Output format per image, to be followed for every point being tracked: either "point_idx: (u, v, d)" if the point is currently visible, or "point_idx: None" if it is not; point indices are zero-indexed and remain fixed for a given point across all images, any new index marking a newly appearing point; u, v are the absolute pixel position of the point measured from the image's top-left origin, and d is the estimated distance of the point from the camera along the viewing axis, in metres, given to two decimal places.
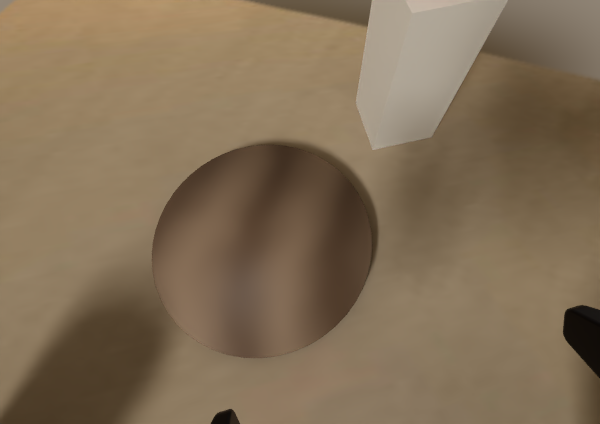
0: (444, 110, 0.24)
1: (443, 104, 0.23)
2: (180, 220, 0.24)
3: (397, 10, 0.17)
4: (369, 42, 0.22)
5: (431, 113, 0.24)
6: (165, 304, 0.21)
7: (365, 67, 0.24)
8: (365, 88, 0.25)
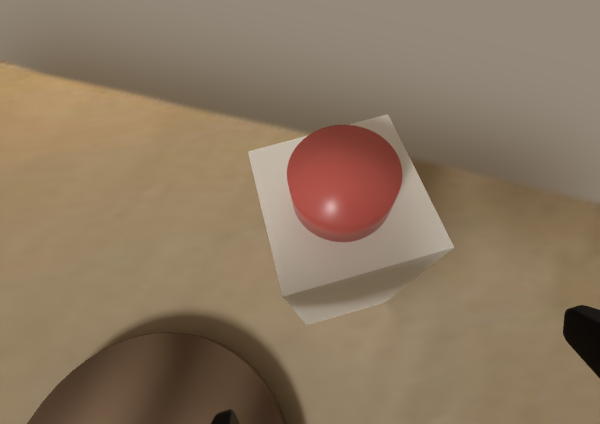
0: (392, 295, 0.17)
1: (388, 294, 0.16)
2: None
3: None
4: None
5: (374, 300, 0.17)
6: None
7: None
8: None
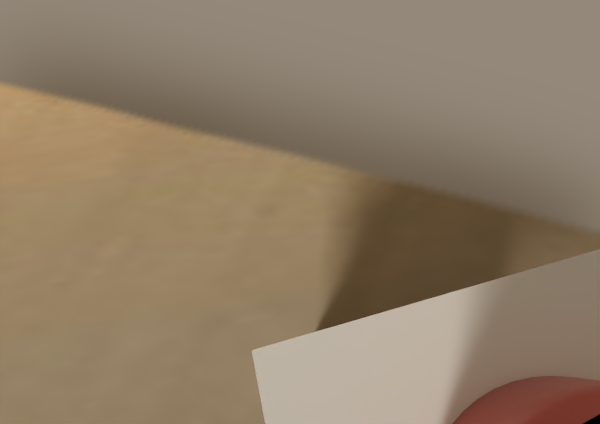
0: None
1: None
2: None
3: None
4: None
5: None
6: None
7: None
8: None
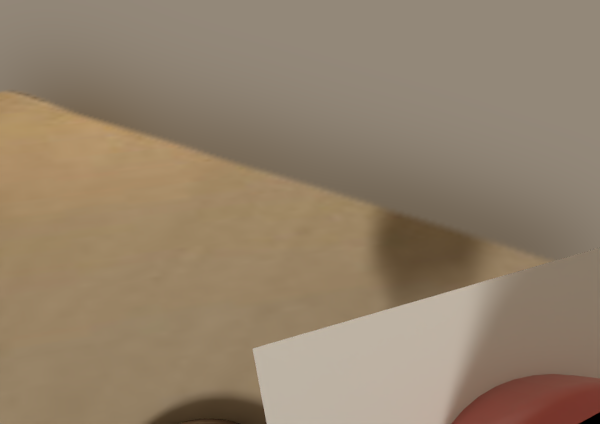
0: None
1: None
2: None
3: None
4: None
5: None
6: None
7: None
8: None
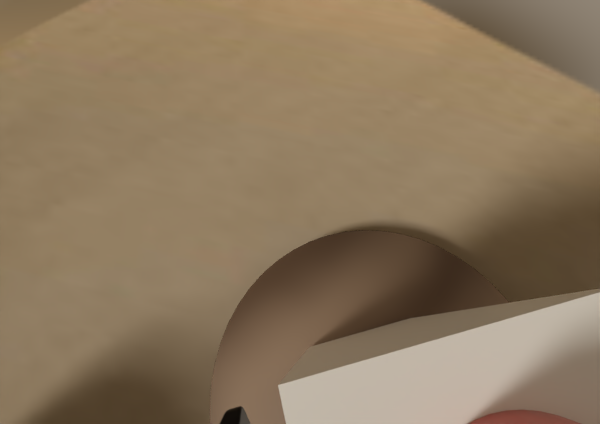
0: None
1: None
2: (274, 305, 0.17)
3: None
4: None
5: None
6: None
7: None
8: None
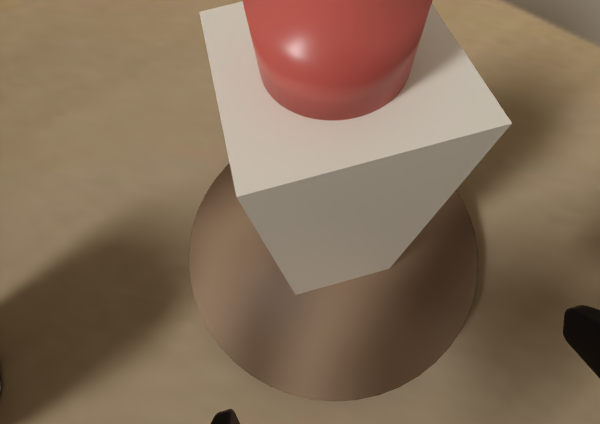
0: (400, 252, 0.14)
1: (395, 249, 0.13)
2: None
3: None
4: None
5: (377, 259, 0.14)
6: (190, 267, 0.18)
7: None
8: None
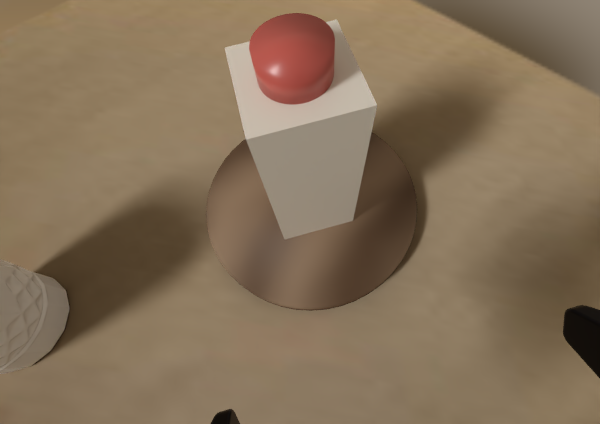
0: (354, 201, 0.20)
1: (349, 197, 0.19)
2: (248, 159, 0.26)
3: None
4: None
5: (339, 206, 0.20)
6: (207, 221, 0.24)
7: None
8: None
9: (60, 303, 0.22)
